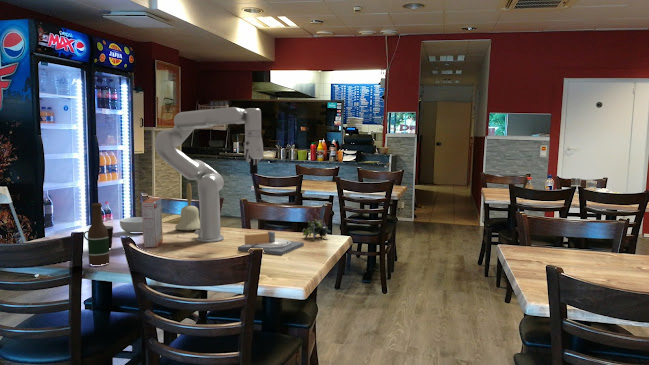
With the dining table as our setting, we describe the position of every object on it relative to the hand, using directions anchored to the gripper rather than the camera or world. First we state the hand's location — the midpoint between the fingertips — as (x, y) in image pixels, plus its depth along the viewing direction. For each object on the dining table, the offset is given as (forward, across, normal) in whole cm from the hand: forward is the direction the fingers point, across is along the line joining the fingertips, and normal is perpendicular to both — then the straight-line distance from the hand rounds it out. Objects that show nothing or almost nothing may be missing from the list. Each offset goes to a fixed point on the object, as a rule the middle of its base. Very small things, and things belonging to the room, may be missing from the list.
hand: (253, 173), depth 236 cm
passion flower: (+32, +16, -25) cm, 44 cm away
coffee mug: (+32, -46, +50) cm, 75 cm away
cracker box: (+32, -28, +37) cm, 57 cm away
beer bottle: (+32, -64, +30) cm, 78 cm away
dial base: (+32, -11, -16) cm, 38 cm away
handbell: (+32, +7, +45) cm, 56 cm away
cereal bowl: (+32, -10, +65) cm, 73 cm away
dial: (+30, -13, -14) cm, 36 cm away
